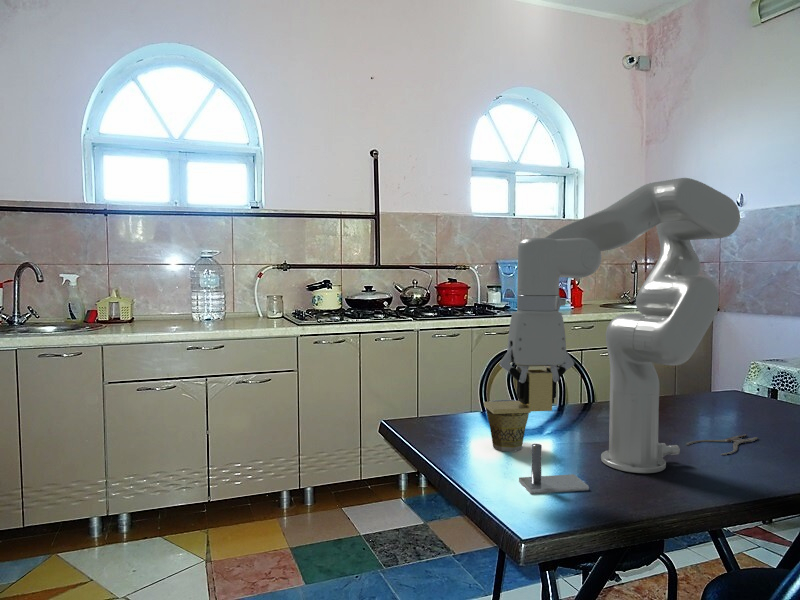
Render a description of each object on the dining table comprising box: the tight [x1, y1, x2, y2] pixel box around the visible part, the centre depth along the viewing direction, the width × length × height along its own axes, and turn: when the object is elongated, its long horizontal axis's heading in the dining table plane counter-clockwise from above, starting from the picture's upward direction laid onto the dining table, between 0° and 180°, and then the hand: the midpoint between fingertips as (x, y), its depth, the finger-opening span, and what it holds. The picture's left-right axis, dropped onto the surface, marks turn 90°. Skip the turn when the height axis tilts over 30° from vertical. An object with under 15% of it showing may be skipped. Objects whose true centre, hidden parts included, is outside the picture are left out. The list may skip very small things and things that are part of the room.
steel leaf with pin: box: [518, 443, 590, 495], centre depth 106 cm, size 11×6×8 cm, turn 98°
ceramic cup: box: [485, 399, 530, 453], centre depth 131 cm, size 13×10×10 cm
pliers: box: [685, 433, 759, 456], centre depth 132 cm, size 10×1×20 cm
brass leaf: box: [483, 368, 553, 414], centre depth 104 cm, size 11×6×7 cm, turn 98°
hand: (536, 401), depth 105 cm, fingers closed on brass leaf, 4 cm apart
